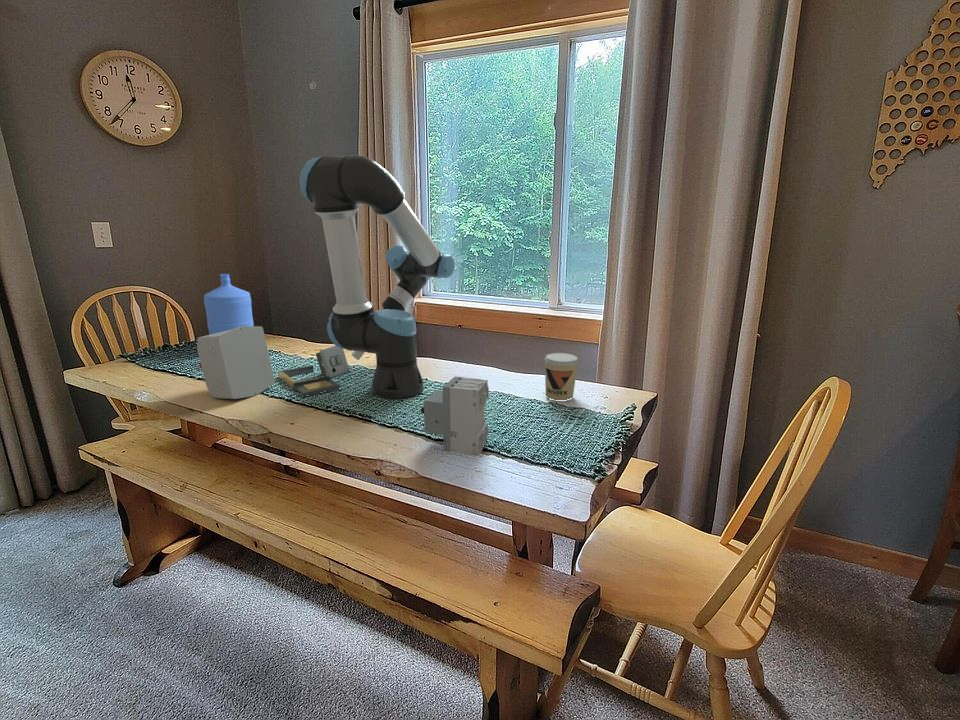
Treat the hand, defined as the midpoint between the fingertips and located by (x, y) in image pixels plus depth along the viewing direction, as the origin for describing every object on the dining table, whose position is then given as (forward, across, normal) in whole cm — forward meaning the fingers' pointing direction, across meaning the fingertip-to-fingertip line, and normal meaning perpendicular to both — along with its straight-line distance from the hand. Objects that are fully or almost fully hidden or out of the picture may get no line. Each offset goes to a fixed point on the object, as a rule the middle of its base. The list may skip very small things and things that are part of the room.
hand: (354, 357), depth 167 cm
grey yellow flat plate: (+15, -4, +10) cm, 19 cm away
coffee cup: (-22, -59, -28) cm, 69 cm away
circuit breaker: (+8, -65, +2) cm, 66 cm away
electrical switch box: (+29, +1, +23) cm, 37 cm away
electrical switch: (+9, 0, +3) cm, 9 cm away
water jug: (+21, +52, +15) cm, 58 cm away
